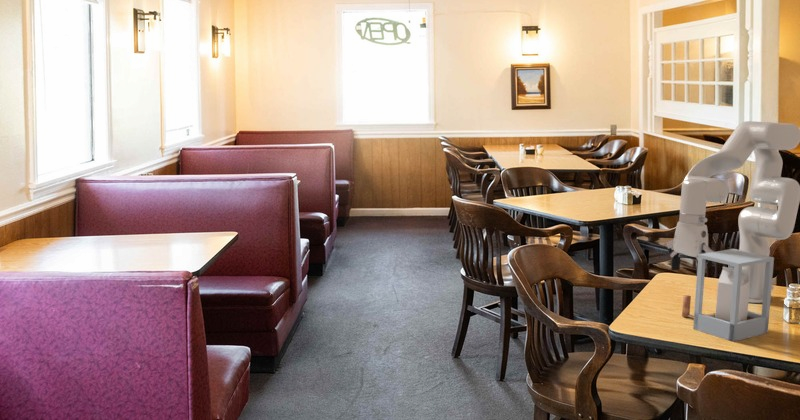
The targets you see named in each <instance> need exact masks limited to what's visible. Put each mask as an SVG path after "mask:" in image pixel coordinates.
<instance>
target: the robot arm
mask: <svg viewBox="0 0 800 420" xmlns="http://www.w3.org/2000/svg"><path fill="white" fill-rule="evenodd" d="M799 144H800V128H799V127H798V125H797V124H794V123H785V122H784V123H782V122H774V121H773V122H770V121H754V120H753V121H752V120H749V121H743V122H740V123H739V124H738V125H737V126H736V127H735V129H734V130H733V132H732V133H731V134H730V136H728V138H727V139H726V141H725V143H724V144H723V145H722V147H721V148H720V150H718V151H716V152H714V153H712V154H710V155H708V156H706V157H704V158H702V159H701V160H699V161H697V162H696V163H695V164H694V165H692V167H691V169H690V170H689V171H688V173H687V174H686V175H685V177H684V179H683V181H682V183H681V190H680V191H681V194H680V204H679V205H680V206H679V219H678V221H677V224H676V226H675V232H674V236H673V239H672V240H669V241H667V242H666V247H667V251H668V253H669V254H670V255H669V256H670V258H671V267H670V269H671V271H679V270H680V268H681V267H680V266H681V257H680V255H683V256H687V257H688V256H689V257H693V258H696V260H697V261H698V254H704V253H710V252H715V251H714V250H712V249H711V248H710V247H709V233H708V232H709V231H708V226H707V224H705V223H707V222H708V218H707V217H706V212H707V210H706V208H707V203H714V204H717V203H721V202H723V201H725V200H726V199H727V197H729V194H730V187H729V184H728V183H727V182H726V181H725V180H723V179H721V178H716V177H712V176H715V175H718V174H723V173H727V172H732V171H735V170H737V169H740V168H742V167H743V166H744V165H745V163H746V161H747V160H748V159H749V157H750V156H751V155H752V153H754V157H755V162H754V168H753V173H752V178H751V182H750V187H749V198H750V200H751V201H753V202H755V203H757V204H758V203H759V204H764V205H770V206H777V209H774V208H767V207H762V206H747V207H745V208H743V209H742V210H741V211H740V212H739V215H738V219H737V220H738V221H737V222H738V231H739V232H738V233H739V248H738V250H742V251H746V252H751V253H755V254H760V255H765V256H769V257H770V255H771V254H770V253H771V252H770V251H771V250H770V249H771V248H770V245H769V242H768V241H767V238H769V239H773V240H774V239H775V240H787V239H788V238H790V237H791V235H792V233H793V232H794V229H795V224H796V221H797V220H796V219H797V214H798V210H799V205H800V183H799V182H798V181H797V180H796V179H794V178H790V177H783V176H782V170H783V164H784V163H783V158H782V156H781V153H780V152H779V151H792V150H794V149H795V148H797V147H798V146H799ZM709 262H710V260H706V261H705V270H706V269H707V268H706V267H707V264H708V263H709ZM765 267H766V262H765V263H759V264H754V265H748V266H743V267H742V270H747V275H748V277H749V280H750V288H749V300H748V303H750V304H751V303H752V304H754V303H755V304H762V303H763V291H764V279H765ZM697 268H698V263H697V264H696V269H697ZM695 275H696V277H697V272H696V274H695ZM705 275H706V274H705ZM705 275H704V277H705ZM774 289H775V287H774V285H773V284H772V288H771V291H773V290H774Z"/></svg>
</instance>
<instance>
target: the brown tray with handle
mask: <svg viewBox="0 0 800 420" xmlns="http://www.w3.org/2000/svg"><path fill="white" fill-rule="evenodd" d="M691 299H692V295H689V294H684V295H683V298H682V312H681V313H682V315H681V316H682V317H684V318H691V319H692V318H693V319H694V314H693V315H692V314H691V313H690V312H691ZM707 315H708V316H711V317H714V318H715V315H716V312H713V313H708V314H707ZM754 318H755V317H751V316H748V315H747V320H749V319H754Z"/></svg>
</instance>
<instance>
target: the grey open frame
mask: <svg viewBox="0 0 800 420" xmlns="http://www.w3.org/2000/svg"><path fill="white" fill-rule="evenodd" d="M706 260H710V261H711V262H715V263H719V264H722V265H723V264H724V265H728V267H729V268H734V275H733V288H732V301H731V314H730V322H728V321H724V320H721V319H718V318H714V317H711V316H708V314H705V313H703V302H704V301H703V300H704V288H705V276H704V275H706V269H705V261H706ZM710 261H709V262H710ZM774 261H775V257H774V256H770V255H769V256H765V255H760V254H755V253H751V252H746V251H742V250H739V249H737V248H729V249H724V250H718V251H717V250H716V251H714V252H710V253H704V254H698V260H697V264H698V268H697V267H696V273H697V276H696V284H695V285H696V286H695V298H694V313H693V316H694V318H693V327H692V328H693V330H695V329H696V331H699V332H702V333H706V334H709V335H711V336H715V337H718V338H720V339H724V340H726V341H730V342H739V341H741V340H745V339H749V338H753V337H757V336H761V335H765V334H768V333H769V322H770V312H771V311H770V310H771V300H772V299H771V298H772V290H771V288H772V285H773V275H774ZM765 262H766V267H765V279H764V291H763V303H761V314H760V313H758V312H754V311H750V310H748V313H747V315H748V316H751V317H755V318H754V319H749V320H745V321H741V322H738V313H739V300H740V287H741V275H742V267H743V266H748V265H754V264H759V263H765Z"/></svg>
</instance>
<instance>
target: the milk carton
mask: <svg viewBox="0 0 800 420" xmlns="http://www.w3.org/2000/svg"><path fill="white" fill-rule="evenodd" d="M733 275H734V268H729V266H728V267H727V266H722V270H721V273H720V275H719V278H718V281H717V290H716V291H717V292H716V305H715V313H716V315H715V318H718V319H721V320H724V321H728V322H730V314H731V301H732V288H733ZM749 288H750V280H749V277H748V275H747V270H742V275H741V287H740V300H739V313H738V322H741V321H745V320H747V313H748V311H749V302H748V300H749Z"/></svg>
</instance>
